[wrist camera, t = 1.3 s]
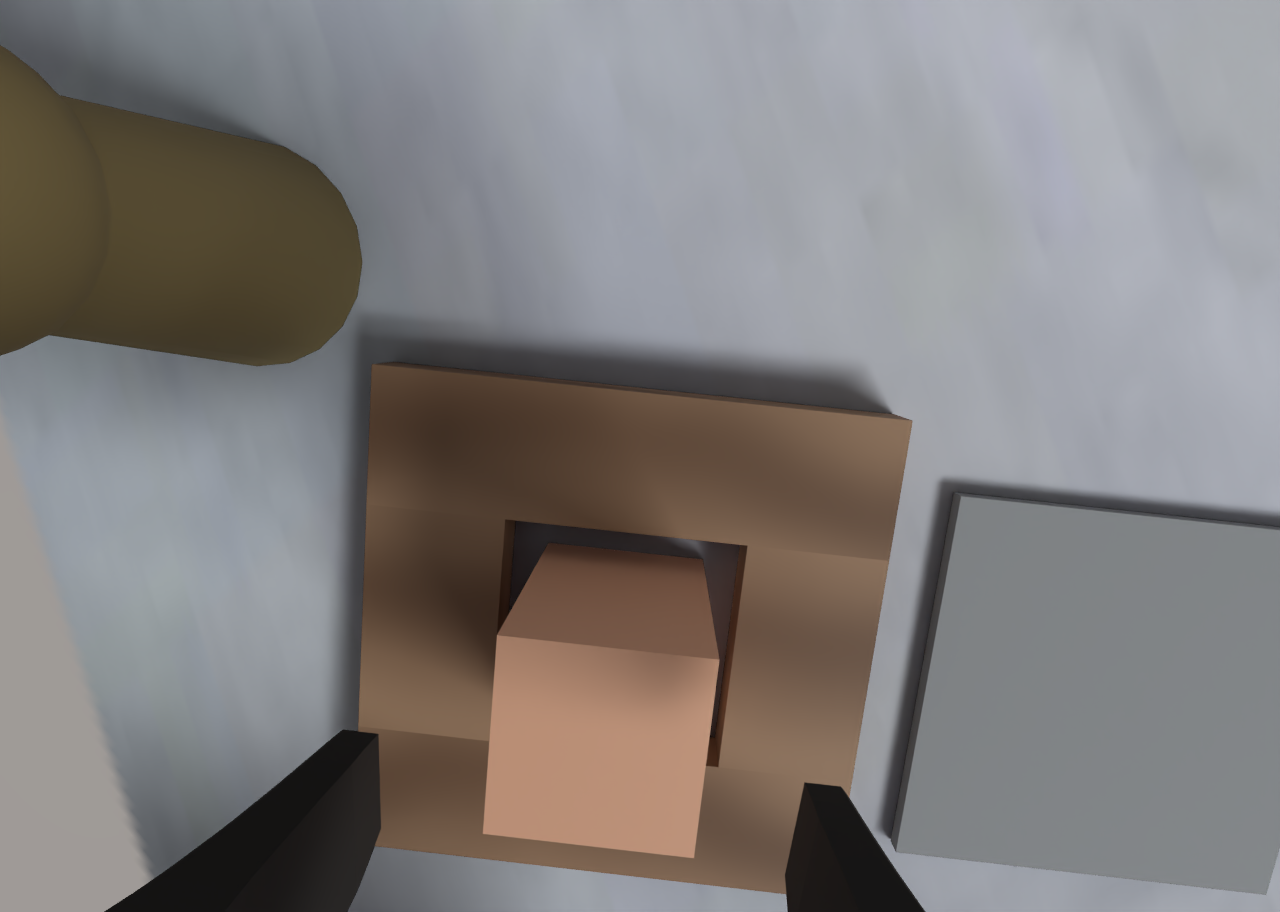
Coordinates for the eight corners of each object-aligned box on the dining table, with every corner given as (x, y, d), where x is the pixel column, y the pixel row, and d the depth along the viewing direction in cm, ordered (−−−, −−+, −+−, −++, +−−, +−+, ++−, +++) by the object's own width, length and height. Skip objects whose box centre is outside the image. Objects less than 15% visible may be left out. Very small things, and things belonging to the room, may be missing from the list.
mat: (1252, 881, 22) (1265, 894, 21) (890, 840, 22) (896, 852, 21) (1350, 534, 20) (1368, 539, 19) (954, 491, 20) (961, 496, 20)
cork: (101, 221, 20) (-588, 84, 9) (273, 92, 19) (-249, -227, 8) (235, 406, 20) (-250, 489, 10) (405, 289, 20) (88, 236, 9)
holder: (820, 861, 22) (831, 899, 21) (374, 810, 22) (354, 843, 21) (894, 414, 20) (912, 420, 18) (393, 361, 20) (371, 364, 19)
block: (685, 702, 22) (693, 858, 15) (536, 685, 22) (482, 834, 15) (702, 559, 21) (719, 659, 14) (548, 542, 21) (497, 635, 14)
